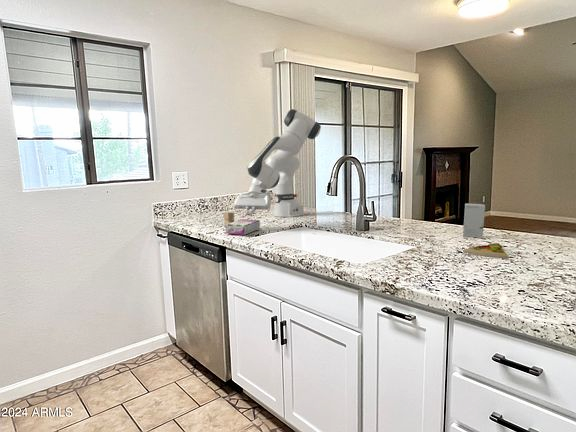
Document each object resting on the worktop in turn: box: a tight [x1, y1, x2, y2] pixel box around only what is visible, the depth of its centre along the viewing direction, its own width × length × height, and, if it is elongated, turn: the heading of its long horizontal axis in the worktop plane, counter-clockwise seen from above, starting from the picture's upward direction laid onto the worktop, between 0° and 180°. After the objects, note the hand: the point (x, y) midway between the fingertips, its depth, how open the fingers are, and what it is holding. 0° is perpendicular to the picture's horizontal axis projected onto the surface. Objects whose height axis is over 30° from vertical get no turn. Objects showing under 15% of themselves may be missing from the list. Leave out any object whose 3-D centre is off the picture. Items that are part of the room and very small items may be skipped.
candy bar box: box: [224, 218, 261, 236], centre depth 198 cm, size 11×5×16 cm
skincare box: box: [462, 203, 486, 239], centre depth 174 cm, size 8×6×15 cm
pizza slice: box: [462, 242, 509, 260], centre depth 149 cm, size 16×21×3 cm
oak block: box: [223, 211, 235, 228], centre depth 215 cm, size 4×4×8 cm
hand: (248, 214), depth 203 cm, fingers closed
